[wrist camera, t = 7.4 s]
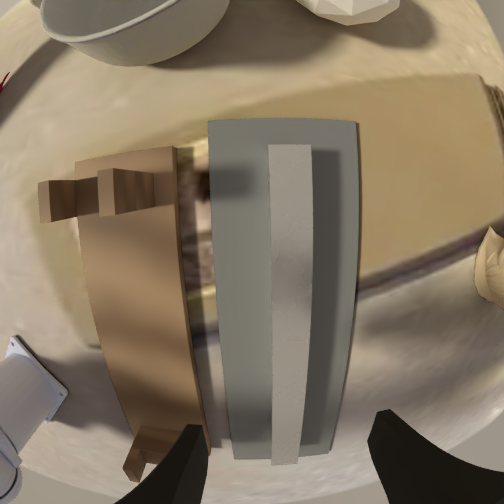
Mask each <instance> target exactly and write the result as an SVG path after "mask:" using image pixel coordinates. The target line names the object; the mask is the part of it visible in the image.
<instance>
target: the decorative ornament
mask: <svg viewBox="0 0 504 504" xmlns="http://www.w3.org/2000/svg"><path fill="white" fill-rule="evenodd" d="M474 284H475V286H476V288H477V291H478V293H479V295H480V296H481V297H484V298H486V299H487V301H488V302H489V301H493V302H494V303H496V304H497V305H498V306H499V307H500V308H501V309H503V310H504V239H503V238H502V237H501V236H499V235H498V234H496V233H495V231H494V230H493V229H492V228H491V227H489V229H488V231H487V233H486V235H485V237H484V239H483V242H482V243H481V245H480V247H479V249H478V254H477V256H476V265H475V267H474Z"/></svg>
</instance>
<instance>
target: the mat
mask: <svg viewBox="0 0 504 504" xmlns="http://www.w3.org/2000/svg"><path fill="white" fill-rule="evenodd" d="M208 144H209V177H210V202H211V222H212V241H213V257H214V272H215V286H216V299H217V311H218V323H219V334H220V344H221V354H222V364H223V374H224V383H225V392H226V400H227V409H228V417H229V425H230V432H231V440H232V447H233V454H234V459H271V450H270V438H271V319H270V254H269V213H268V179H267V151H266V150H267V147H268V145H284V144H289V145H311V157H312V187H313V273H312V304H311V325H310V343H309V358H308V371H307V383H306V394H305V404H304V414H303V423H302V431H301V440H300V447H299V455H298V457H303V456H312V455H320V454H328V453H329V449H330V445H331V441H332V437H333V433H334V428H335V424H336V419H337V415H338V410H339V405H340V400H341V394H342V389H343V383H344V378H345V371H346V365H347V359H348V352H349V344H350V337H351V329H352V320H353V310H354V300H355V288H356V274H357V257H358V231H359V178H358V152H357V135H356V122H355V121H343V120H329V119H307V118H251V119H229V120H214V121H208Z"/></svg>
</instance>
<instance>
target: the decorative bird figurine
mask: <svg viewBox="0 0 504 504" xmlns="http://www.w3.org/2000/svg"><path fill="white" fill-rule="evenodd" d="M9 73H10V72H9ZM9 73H8V74H9ZM8 74H7V75H6V76H5V78H4V79H3V81H2V83H1V84H0V92H1V89H2V86H3V83H4V81H5V79H6V78H7V76H8Z"/></svg>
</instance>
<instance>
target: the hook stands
mask: <svg viewBox="0 0 504 504" xmlns="http://www.w3.org/2000/svg"><path fill="white" fill-rule="evenodd" d="M38 197H39V212H40V223H48V222H54V221H59V220H63V219H68V218H73V217H77V218H78V228H79V238H80V246H81V253H82V260H83V267H84V273H85V278H86V284H87V289H88V294H89V299H90V304H91V308H92V313H93V317H94V321H95V325H96V329H97V333H98V337H99V341H100V344H101V348H102V351H103V355H104V358H105V361H106V364H107V367H108V371H109V374H110V377H111V380H112V382H113V385H114V388H115V391H116V394H117V396H118V399H119V402H120V404H121V407H122V409H123V412H124V414H125V417H126V419H127V422H128V424H129V426H130V429H131V431H132V433H133V435H134V438H135V440H134V442H133V444H132V447H131V449H130V451H129V454H128V456H127V458H126V461H125V463H124V465H123V470H124V472H125V473H126V475H127V476H128V478H129V479H130V481H134V482H138V483H139V482H140V480H141V477H142V474H143V471H144V468H145V465H146V463H152V464H159V463H160V462H161V460H162V459H163V458H164V456H165V455H166V454H167V453H168V451H169V450H170V449H171V447H172V446H173V444H174V443H175V441H176V440H177V438H178V437H179V435H180V434H181V432H182V430H183V429H184V427H185V425H187V424H196V425H202V426H203V430H204V435H205V439H206V444H207V448H208V452H209V456H210V453H211V444H210V440H209V435H208V430H207V426H206V421H205V416H204V410H203V405H202V400H201V394H200V389H199V383H198V377H197V371H196V365H195V358H194V352H193V345H192V338H191V331H190V323H189V316H188V307H187V299H186V290H185V280H184V270H183V259H182V248H181V235H180V220H179V203H178V182H177V148H175V147H173V146H169V147H161V148H153V149H146V150H139V151H132V152H126V153H120V154H114V155H109V156H103V157H98V158H93V159H88V160H83V161H79V162H75V180H49V181H44V182H40V183H38Z"/></svg>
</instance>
